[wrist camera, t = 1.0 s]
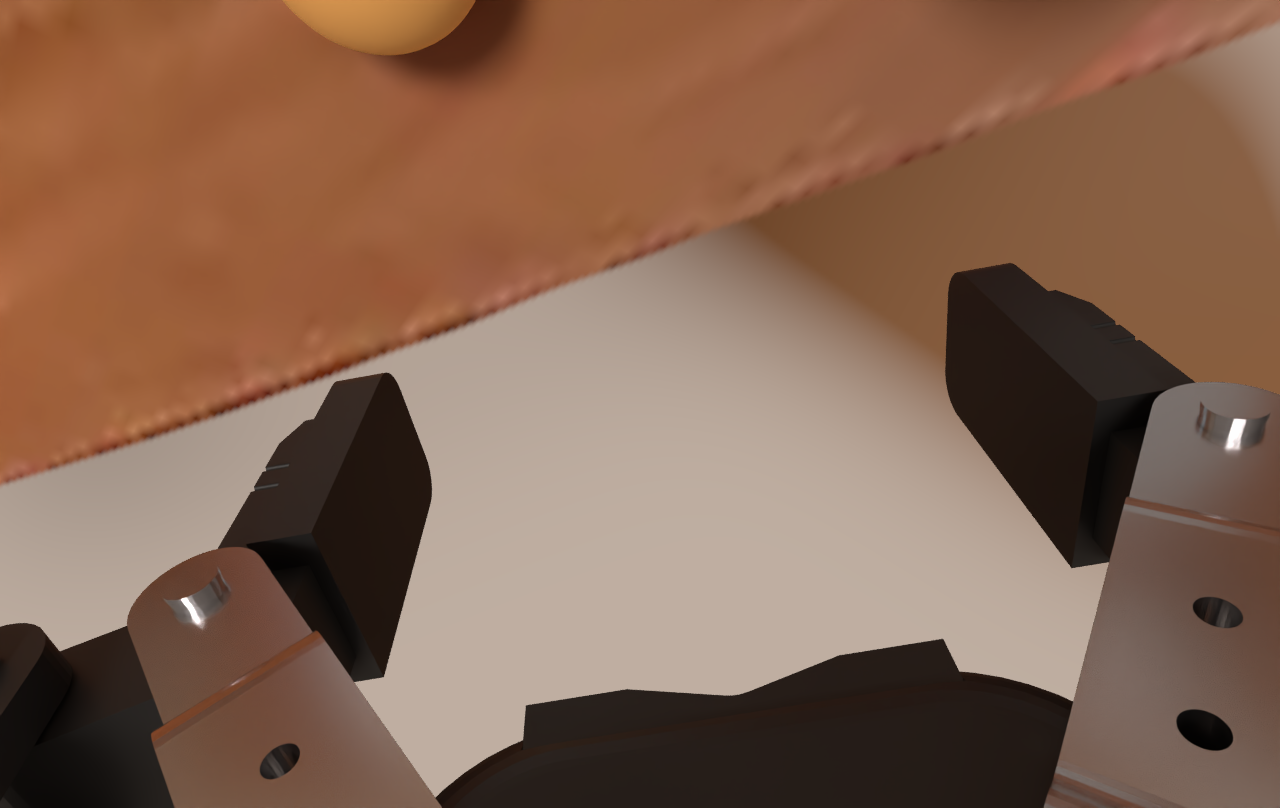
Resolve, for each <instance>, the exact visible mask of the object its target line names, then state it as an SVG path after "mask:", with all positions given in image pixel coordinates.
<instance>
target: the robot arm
mask: <svg viewBox="0 0 1280 808" xmlns="http://www.w3.org/2000/svg"><path fill="white" fill-rule="evenodd" d="M945 369H946V370H945V373H946V374H945V375H946V384H947V390H948V394H949V397H950V401H951V403H952V406H953V408H954V410H955V412H956V413H957V415H958V416H959V417H960V419H961V420H962V422H963V423H964V424H965V426H966V427H967V428H968V430H969V431H970V432H971V434H972V435H973V436H974V438H975V439H976V440H977V442H978V443H979V444H980V446H981V447H982V448H983V450H984V451H985V452H986V454H987V455H988V456H989V458H990V459H991V461H992V462H993V463H994V465H995V466H996V467H997V469H998V470H999V471H1000V473H1001V474H1002V475H1003V477H1004V478H1005V479H1006V481H1007V482H1008V483H1009V485H1010V486H1011V487H1012V489H1013V490H1014V491H1015V493H1016V494H1017V495H1018V497H1019V498H1020V499H1021V501H1022V502H1023V503H1024V505H1025V506H1026V508H1027V509H1028V510H1029V512H1030V513H1031V514H1032V516H1033V517H1034V518H1035V519H1036V521H1037V522H1038V524H1039V525H1040V526H1041V528H1042V529H1043V530H1044V532H1045V533H1046V534H1047V536H1048V537H1049V538H1050V540H1051V541H1052V542H1053V544H1054V545H1055V546H1056V548H1057V549H1058V550H1059V552H1060V553H1061V554H1062V556H1063V557H1064V559H1065V560H1066V561H1067V562H1068V564H1069V565H1070V567H1071V568H1075V567H1082V566H1088V565H1094V564H1100V563H1106V562H1109V565H1108V569H1107V573H1106V577H1105V581H1104V585H1103V588H1102V593H1101V597H1100V600H1099V604H1098V608H1097V612H1096V616H1095V620H1094V623H1093V627H1092V631H1091V635H1090V639H1089V643H1088V647H1087V651H1086V654H1085V659H1084V662H1083V666H1082V670H1081V674H1080V678H1079V682H1078V686H1077V690H1076V693H1075V697H1074V701H1070V700H1068V699H1066V698H1064V697H1062V696H1060V695H1057V694H1055V693H1052V692H1049V691H1046V690H1043V689H1040V688H1038V687H1035V686H1032V685H1029V684H1025V683H1021V682H1017V681H1014V680H1010V679H1006V678H1002V677H995V676H990V675H983V674H977V673H969V672H959V670H958V668H957V666H956V664H955V662H954V660H953V658H952V656H951V654H950V652H949V650H948V648H947V646H946V644H945V642H944V640H943V639H939V640H933V641H927V642H921V643H915V644H908V645H902V646H896V647H890V648H883V649H877V650H870V651H864V652H858V653H852V654H845V655H839V656H837V657H834V658H832V659H829V660H827V661H824V662H822V663H819V664H817V665H814V666H812V667H809V668H807V669H804V670H802V671H799V672H797V673H794V674H792V675H789V676H787V677H784V678H782V679H779V680H777V681H774V682H772V683H769V684H767V685H764V686H762V687H759V688H757V689H754V690H752V691H749V692H746V693H743V694H740V695H733V696H723V695H707V694H691V693H675V692H659V691H644V690H628V689H626V690H620V691H614V692H607V693H601V694H595V695H589V696H582V697H576V698H570V699H563V700H558V701H551V702H545V703H539V704H532V705H527V706H526V712H525V725H524V737H523V741H521V742H518V743H516V744H513V745H511V746H509V747H507V748H505V749H503V750H501V751H499V752H497V753H496V754H494V755H492V756H490V757H488V758H486V759H485V760H483V761H482V762H480V763H479V764H477V765H476V766H474V767H473V768H471V769H470V770H468V771H467V772H465V773H464V774H463V775H461V776H460V777H459V778H458V779H456V780H455V781H454V782H453V783H451V784H450V785H449V786H448V787H446V788H445V789H444V790H443V791H442V792H441V793H440V794H439V795H438V796H437V797H436V798H435V797H434V795H433V794H432V793H431V791H430V790H429V788H428V787H427V786H426V784H425V783H424V781H423V780H422V778H421V777H420V775H419V774H418V773H417V771H416V770H415V768H414V767H413V765H412V764H411V763H410V761H409V760H408V758H407V757H406V755H405V754H404V753H403V751H402V750H401V748H400V747H399V746H398V744H397V743H396V741H395V740H394V738H393V737H392V736H391V734H390V733H389V731H388V730H387V728H386V727H385V726H384V724H383V723H382V721H381V720H380V718H379V717H378V716H377V714H376V713H375V712H374V710H373V709H372V707H371V706H370V704H369V703H368V701H367V700H366V698H365V697H364V696H363V694H362V693H361V691H360V690H359V689H358V687H357V686H356V684H355V683H354V682H357V681H363V680H369V679H375V678H381V677H384V674H385V671H386V667H387V663H388V659H389V656H390V652H391V648H392V645H393V641H394V637H395V633H396V630H397V626H398V622H399V618H400V615H401V611H402V607H403V603H404V600H405V596H406V592H407V589H408V585H409V581H410V578H411V574H412V570H413V566H414V563H415V559H416V555H417V551H418V548H419V544H420V540H421V537H422V533H423V529H424V525H425V522H426V518H427V514H428V511H429V507H430V503H431V497H432V483H431V476H430V470H429V465H428V462H427V459H426V456H425V453H424V451H423V448H422V445H421V443H420V440H419V438H418V435H417V432H416V430H415V427H414V424H413V422H412V419H411V417H410V414H409V411H408V409H407V406H406V403H405V401H404V398H403V396H402V393H401V390H400V388H399V386H398V384H397V382H396V380H395V379H394V377H393V376H392V375H391V374H389V373H381V374H376V375H370V376H365V377H359V378H353V379H348V380H342V381H337V382H335V383H334V384H333V386H332V387H331V389H330V391H329V393H328V395H327V397H326V398H325V400H324V402H323V404H322V406H321V407H320V409H319V411H318V413H317V415H316V417H315V418H314V419H312V420H307V421H305V422H303V423H302V424H301V425H300V426H299V427H298V428H297V429H296V430H295V431H293V432H292V433H291V434H290V435H289V436H287V437H286V438H285V439H284V440H283V441H282V442H281V443H280V444H279V445H278V447H277V449H276V450H275V452H274V454H273V455H272V457H271V459H270V461H269V462H268V464H267V466H266V471H265V472H262V474H261V476H260V477H259V479H258V481H257V483H256V485H255V486H254V488H255V491H253V492H251V493H250V495H249V496H248V498H247V500H246V501H245V503H244V505H243V506H242V508H241V510H240V512H239V513H238V515H237V517H236V518H235V520H234V522H233V524H232V525H231V527H230V529H229V530H228V532H227V534H226V535H225V537H224V539H223V541H222V542H221V544H220V546H219V547H218V549H216V550H212V551H208V552H206V553H202V554H200V555H197V556H195V557H192V558H190V559H188V560H186V561H184V562H182V563H180V564H178V565H176V566H175V567H173V568H171V569H170V570H168V571H167V572H165V573H164V574H163V575H161V576H160V577H159V578H157V579H156V580H155V581H154V582H152V583H151V584H150V585H149V586H148V587H147V588H146V589H145V590H144V591H143V592H142V593H141V595H140V596H139V597H138V598H137V599H136V601H135V603H134V604H133V606H132V607H131V610H130V612H129V615H128V619H127V626H125V627H123V628H120V629H118V630H115V631H112V632H110V633H107V634H104V635H102V636H99V637H97V638H94V639H92V640H89V641H86V642H84V643H81V644H78V645H76V646H73V647H70V648H68V649H65V650H63V651H59V650H58V649H57V648H56V646H55V645H54V644H53V643H52V641H51V640H50V639H49V638H48V636H47V635H46V634H45V633H44V632H43V630H42V629H41V628H40V627H38V626H36V625H33V624H28V623H18V624H10V625H5V626H2V627H0V808H1280V395H1279V394H1276V393H1273V392H1270V391H1267V390H1264V389H1260V388H1256V387H1252V386H1247V385H1241V384H1235V383H1225V382H1200V383H1195V382H1194V381H1193V380H1192V379H1190V378H1189V377H1188V376H1186V375H1185V374H1184V373H1182V372H1181V371H1180V370H1179V369H1177V368H1176V367H1175V366H1173V365H1172V364H1171V363H1169V362H1168V361H1167V360H1166V359H1164V358H1163V357H1161V356H1160V355H1159V354H1158V353H1156V352H1155V351H1154V350H1152V349H1151V348H1150V347H1148V346H1147V345H1146V344H1145V343H1143V342H1142V341H1140V340H1138V341H1136V340H1135V336H1134V335H1133V334H1131V333H1130V332H1129V331H1127V330H1126V329H1125V328H1124V327H1122V326H1121V325H1116V324H1115V321H1114V320H1113V319H1112V318H1110V317H1109V316H1108V315H1106V314H1105V313H1104V312H1103V311H1101V310H1100V309H1099V308H1097V307H1096V306H1095V305H1093V304H1092V303H1090V302H1087V301H1084V300H1082V299H1079V298H1076V297H1073V296H1071V295H1068V294H1065V293H1062V292H1060V291H1057V290H1054V291H1047V290H1046V289H1045V288H1043V287H1042V286H1041V285H1040V284H1038V283H1037V282H1036V281H1035V280H1033V279H1032V278H1031V277H1030V276H1028V275H1027V274H1026V273H1025V272H1023V271H1022V270H1021V269H1020V268H1018V267H1017V266H1016V265H1014V264H1012V263H1008V264H1002V265H996V266H991V267H985V268H979V269H974V270H968V271H962V272H957V273H955V274H954V275H953V276H952V278H951V281H950V284H949V291H948V314H947V341H946V368H945Z"/></svg>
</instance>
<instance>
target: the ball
mask: <svg viewBox="0 0 1280 808" xmlns="http://www.w3.org/2000/svg"><path fill="white" fill-rule="evenodd" d="M283 1H284V3H285V4H286V5H287V6H288V7H289V8H290V10H291V11H292V12H293V13H295V14H296V15H297V16H298V17H299V18H300V19H301V20H302V21H303V22H304V23H305V24H307V25H308V26H309V27H311V28H312V29H313V30H315V31H316V32H317V33H319V34H320V35H322V36H324V37H325V38H327V39H329V40H330V41H332V42H334V43H337V44H339V45H341V46H343V47H346V48H349V49H352V50H355V51H358V52H363V53H369V54H375V55H400V54H407V53H411V52H415V51H419V50H421V49H423V48H426V47H428V46H430V45H433V44H435V43H436V42H438V41H440V40H441V39H443V38H444V37H446V36H447V35H448V34H450V33H451V32H452V31H453V30H454V29H455V28H456V27H457V26H458V25H459V24H460V23H461V22H462V21H463V19H464V18H465V17H466V16H467V14H468V12H469V11H470V9H471V8H472V6H473V5H474V3H475V1H476V0H283Z"/></svg>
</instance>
